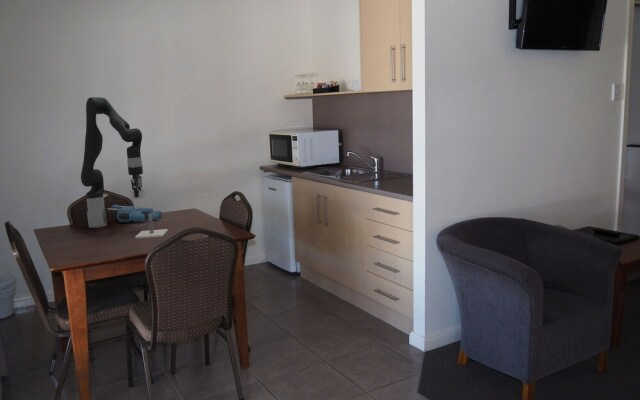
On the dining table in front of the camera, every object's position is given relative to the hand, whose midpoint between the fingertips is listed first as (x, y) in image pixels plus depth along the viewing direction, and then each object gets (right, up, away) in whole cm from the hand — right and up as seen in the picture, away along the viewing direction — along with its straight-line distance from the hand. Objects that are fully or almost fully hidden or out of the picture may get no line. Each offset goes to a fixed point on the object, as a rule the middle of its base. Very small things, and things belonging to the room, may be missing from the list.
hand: (138, 196), depth 309 cm
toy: (-13, -15, +36) cm, 41 cm away
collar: (0, -1, 0) cm, 1 cm away
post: (+10, -20, -8) cm, 24 cm away
